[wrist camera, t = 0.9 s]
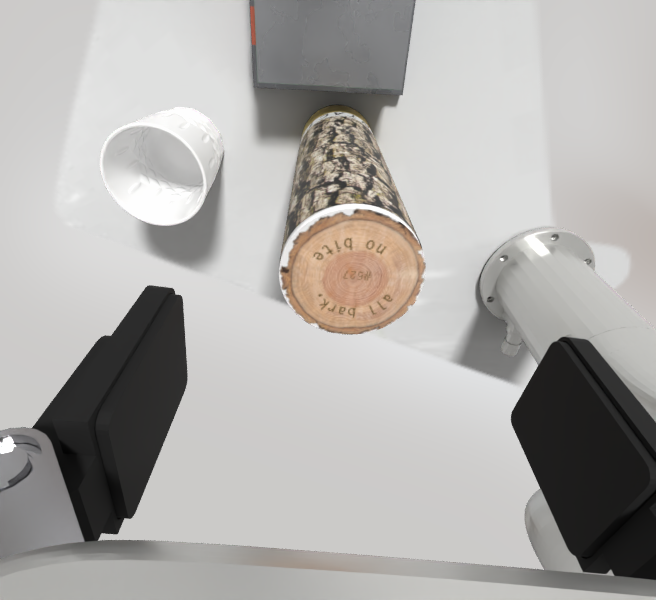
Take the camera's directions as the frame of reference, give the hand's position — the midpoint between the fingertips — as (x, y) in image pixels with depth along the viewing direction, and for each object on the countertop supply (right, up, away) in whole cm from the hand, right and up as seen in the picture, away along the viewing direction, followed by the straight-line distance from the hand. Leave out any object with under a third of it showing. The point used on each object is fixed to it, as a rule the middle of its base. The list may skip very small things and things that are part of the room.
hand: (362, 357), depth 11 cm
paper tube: (0, +17, +29) cm, 34 cm away
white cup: (-14, +17, +29) cm, 37 cm away
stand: (-1, +26, +23) cm, 34 cm away
